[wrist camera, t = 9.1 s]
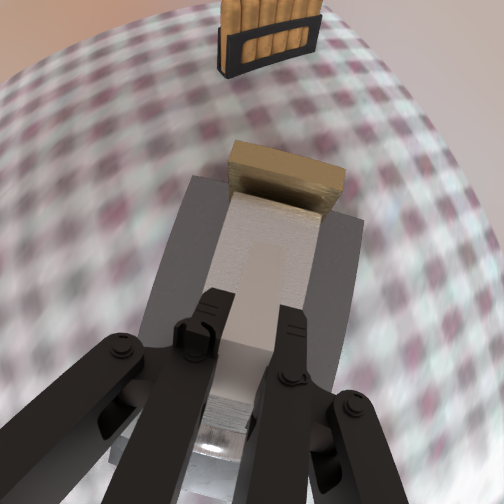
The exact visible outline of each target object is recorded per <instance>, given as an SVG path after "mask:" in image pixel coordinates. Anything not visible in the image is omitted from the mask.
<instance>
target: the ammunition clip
mask: <svg viewBox="0 0 504 504" xmlns="http://www.w3.org/2000/svg"><path fill="white" fill-rule="evenodd" d="M322 1H323V0H222V2H221V27H219V28H218V53H217V70H218V71H219V72H220V73H221V74H222V75H223V76H224V77H225V78H227V79H230V78H233V77H235V76H238V75H241V74H244V73H246V72H249V71H252V70H255V69H258V68H261V67H264V66H267V65H270V64H274V63H277V62H280V61H283V60H287V59H290V58H294V57H297V56H301V55H305V54H308V53H312V52H315V48H316V44H317V39H318V34H319V30H320V25H321V20H322V15H321V14H320V10H321V6H322ZM319 14H320V15H319Z"/></svg>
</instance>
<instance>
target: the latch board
mask: <svg viewBox="0 0 504 504" xmlns="http://www.w3.org/2000/svg"><path fill="white" fill-rule="evenodd" d="M345 171H346V169H344V168H341V167H337V166H334V165H331V164H327V163H324V162H320V161H317V160H313V159H310V158H306V157H303V156H299V155H295V154H292V153H288V152H284V151H280V150H276V149H272V148H268V147H264V146H260V145H256V144H251V143H247V142H243V141H238V140H235V143H234V145H233V148H232V151H231V154H230V156H229V159H228V181H229V183H225V182H220V181H216V180H212V179H208V178H203V177H199V176H194V175H193V176H192V178H191V181H190V183H189V186H188V188H187V191H186V194H185V196H184V199H183V201H182V204H181V207H180V209H179V212H178V215H177V217H176V220H175V223H174V226H173V228H172V231H171V234H170V237H169V240H168V242H167V245H166V248H165V251H164V254H163V257H162V260H161V263H160V266H159V269H158V272H157V275H156V278H155V281H154V284H153V287H152V290H151V294H150V297H149V300H148V303H147V307H146V310H145V313H144V317H143V320H142V323H141V327H140V330H139V334H138V337H137V338H138V339H139V340H140V341H141V342H142V344H143V346H144V347H155V348H160V347H168V346H171V345H173V332H174V326H175V325H176V323H177V322H178V321H180V320H182V319H184V318H189V317H192V315H193V313H194V311H195V308H196V306H197V304H198V303H199V300H200V298H201V296H202V293H203V289H204V286H205V283H206V279H207V276H208V273H209V269H210V266H211V263H212V259H213V256H214V253H215V250H216V247H217V243H218V240H219V237H220V234H221V231H222V227H223V224H224V221H225V218H226V215H227V212H228V209H229V206H230V202H231V199H232V196H233V193H234V191H235V192H239V193H243V194H247V195H251V196H255V197H259V198H263V199H267V200H271V201H274V202H278V203H282V204H286V205H289V206H293V207H297V208H300V209H304V210H308V211H311V212H315V213H318V214H322V217H321V222H320V227H319V233H318V238H317V243H316V248H315V253H314V258H313V263H312V267H311V272H310V277H309V281H308V286H307V291H306V295H305V300H304V304H303V308H302V310H303V312H304V314H305V316H306V318H307V371H308V373H309V374H310V376H311V380H312V381H313V382H314V383H315V384H316V385H317V386H319V387H320V388H322V389H324V390H326V391H328V392H330V393H331V391H332V387H333V383H334V379H335V375H336V371H337V367H338V363H339V359H340V355H341V350H342V346H343V341H344V337H345V332H346V327H347V322H348V318H349V312H350V307H351V302H352V297H353V291H354V285H355V280H356V274H357V267H358V261H359V254H360V247H361V240H362V233H363V225H364V220H361V219H358V218H355V217H351V216H348V215H345V214H341V213H338V212H334V211H331V208H332V207H333V205H334V204H335V202H336V201H337V199H338V198H339V196H340V195H341V193H342V191H343V185H344V178H345ZM142 410H143V409H142ZM141 412H142V411H141ZM141 412H140V413H139V414H138V415H137V416H136V418H135V419H134V420H133V421H132V422H131V423H130V424H129V426H128V427H127V428H126V429H125V430H124V431H123V433H122V434H121V435H120V436H119V437H118V438H117V439H116V441H115V442H114V443H113V444H112V445H111V450H110V456H109V461H108V462H109V463H111V464H114V465H116V466H117V465H118V463H119V461H120V458H121V456H122V454H123V452H124V449H125V447H126V445H127V443H128V441H129V438H130V436H131V434H132V432H133V429H134V427H135V425H136V423H137V421H138V419H139V416H140V414H141ZM239 467H240V463H236V462H232V461H227V460H223V459H219V458H215V457H211V456H208V455H204V454H200V453H197V452H193V451H192V455H191V458H190V461H189V464H188V468H187V471H186V474H185V477H184V481H183V484H182V487H181V489H183V490H186V491H190V492H194V493H197V494H201V495H205V496H209V497H213V498H217V499H222V500H226V501H231V502H232V500H233V495H234V490H235V486H236V481H237V476H238V471H239Z"/></svg>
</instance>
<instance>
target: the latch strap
mask: <svg viewBox="0 0 504 504" xmlns="http://www.w3.org/2000/svg"><path fill="white" fill-rule="evenodd" d="M321 217H322V214H318V213H315V212H311V211H308V210H304V209H300V208H297V207H293V206H289V205H286V204H282V203H278V202H274V201H271V200H267V199H263V198H259V197H255V196H251V195H247V194H243V193H239V192H235V191H234V193H233V196H232V199H231V202H230V206H229V209H228V212H227V215H226V218H225V221H224V224H223V227H222V231H221V234H220V237H219V240H218V243H217V247H216V250H215V253H214V256H213V259H212V263H211V266H210V269H209V273H208V276H207V279H206V283H205V286H204V289H203V293H204V292H205V291H207V290H208V289H210V288H211V287H213V288H217V289H220V290H224V291H228V292H231V293H235V294H236V292H237V289H238V286H239V283H240V280H241V277H242V274H243V271H244V268H245V265H246V262H247V259H248V256H249V253H250V250H251V247H252V244H253V241H254V240H258V241H262V242H266V243H270V244H273V245H277V246H281V247H285V248H286V254H285V263H284V272H283V281H282V290H281V298H280V304H281V305H285V306H289V307H293V308H297V309H301V310H302V308H303V304H304V300H305V295H306V291H307V286H308V281H309V277H310V272H311V267H312V263H313V258H314V253H315V248H316V243H317V238H318V233H319V227H320V222H321ZM203 293H202V294H203ZM253 406H254V402H253V405H252V404H248V403H244V402H240V401H236V400H232V399H228V398H224V397H220V396H217V395H213V394H209V397H208V400H207V405H206V409H205V412H204V415H203V419H202V422H201V425H200V428H199V432H198V435H197V438H196V442H195V445H194V448H193V452H197V453H200V454H204V455H208V456H211V457H215V458H219V459H223V460H227V461H232V462H236V463H240V462H241V457H242V452H243V447H244V442H245V437H246V432H247V429H245V427H246V424H247V422H248V420H249V417H250V415H251V413H252V410H253Z"/></svg>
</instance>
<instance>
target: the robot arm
mask: <svg viewBox="0 0 504 504" xmlns="http://www.w3.org/2000/svg"><path fill="white" fill-rule="evenodd" d="M285 254H286V248H285V247H281V246H277V245H273V244H270V243H266V242H262V241H258V240H254V241H253V244H252V247H251V250H250V253H249V256H248V259H247V262H246V265H245V268H244V271H243V274H242V277H241V280H240V283H239V286H238V289H237V292H236V294H235V293H231V292H228V291H224V290H220V289H217V288H213V287H211V288H210V289H208V290H207V291H205V292H204V293H203V294H202V296H201V298H200V300H199V303H198V304H197V306H196V308H195V311H194V313H193V315H192V317H189V318H184V319H182V320H180V321H178V322H177V323H176V325H175V326H174V332H173V345H171V346H168V347H160V348H155V347H144V346H143V344H142V342H141V341H140V340H139V339H138V338H137V337H136V336H133V335H131V334H128V333H115V334H111V335H109V336H108V337H106V338H104V339H103V340H102V341H101V342H100V343H98V344H97V345H96V346H95V347H94V348H93V349H91V350H90V351H89V352H88V353H87V354H85V355H84V356H83V357H82V358H81V359H80V360H78V361H77V362H76V363H75V364H74V365H73V366H71V367H70V368H69V369H68V370H67V371H66V372H64V373H63V374H62V375H61V376H60V377H59V378H57V379H56V380H55V381H54V382H53V383H52V384H51V385H49V386H48V387H47V388H46V389H45V390H44V391H42V392H41V393H40V394H39V395H38V396H37V397H36V398H35V399H33V400H32V401H31V402H30V403H29V404H28V405H27V406H25V407H24V408H23V409H22V410H21V411H20V412H19V413H18V414H16V415H15V416H14V417H13V418H12V419H11V420H10V421H9V422H8V423H6V424H5V425H4V426H3V427H2V428H1V429H0V504H59V503H60V502H61V501H62V500H63V499H64V498H65V497H66V496H67V495H68V493H69V492H70V491H71V490H72V489H73V488H74V487H75V486H76V485H77V483H78V482H79V481H80V480H81V479H82V478H83V477H84V476H85V475H86V473H87V472H88V471H89V470H90V469H91V468H92V467H93V466H94V464H95V463H96V462H97V461H98V460H99V459H100V458H101V456H102V455H103V454H104V453H105V452H106V451H107V450H108V449H109V447H110V446H111V445H112V444H113V443H114V442H115V441H116V439H117V438H118V437H119V436H120V435H121V434H122V433H123V431H124V430H125V429H126V428H127V427H128V426H129V424H130V423H131V422H132V421H133V420H134V419H135V418H136V416H137V415H138V414H139V413H140V412H141V411H142V412H141V414H140V416H139V419H138V421H137V423H136V425H135V427H134V429H133V432H132V434H131V436H130V438H129V441H128V443H127V445H126V447H125V449H124V452H123V454H122V456H121V458H120V461H119V463H118V465H117V468H116V470H115V472H114V474H113V477H112V479H111V481H110V484H109V486H108V488H107V491H106V493H105V495H104V498H103V500H102V502H101V504H176V503H177V500H178V497H179V494H180V490H181V487H182V484H183V481H184V477H185V474H186V471H187V468H188V464H189V461H190V458H191V455H192V451H193V448H194V445H195V442H196V438H197V435H198V432H199V428H200V425H201V422H202V419H203V415H204V412H205V409H206V405H207V400H208V397H209V394H213V395H217V396H220V397H224V398H228V399H232V400H236V401H240V402H244V403H248V404H252V405H253V402H254V406H253V410H252V413H251V415H250V417H249V420H248V422H247V424H246V427H245V429H247V432H246V437H245V442H244V447H243V452H242V457H241V462H240V467H239V471H238V476H237V481H236V486H235V490H234V495H233V500H232V504H306V499H307V486H308V475H309V480H310V484H311V489H312V494H313V499H314V504H409V503H408V500H407V497H406V494H405V491H404V488H403V485H402V482H401V479H400V476H399V474H398V471H397V468H396V465H395V462H394V460H393V457H392V454H391V451H390V449H389V446H388V443H387V441H386V438H385V435H384V433H383V430H382V427H381V425H380V422H379V420H378V417H377V415H376V412H375V409H374V407H373V405H372V403H371V401H370V400H369V399H368V398H367V397H366V396H365V395H364V394H362V393H360V392H358V391H354V390H345V391H341V392H340V393H338V394H337V395H335V394H333V393H330V392H328V391H326V390H324V389H322V388H320V387H319V386H317V385H316V384H315V383H314V382H313V381H312V380H311V376H310V374H309V373H308V371H307V318H306V316H305V314H304V312H303V310H301V309H297V308H293V307H289V306H285V305H281V304H280V298H281V290H282V281H283V272H284V263H285ZM142 409H143V410H142Z"/></svg>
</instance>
